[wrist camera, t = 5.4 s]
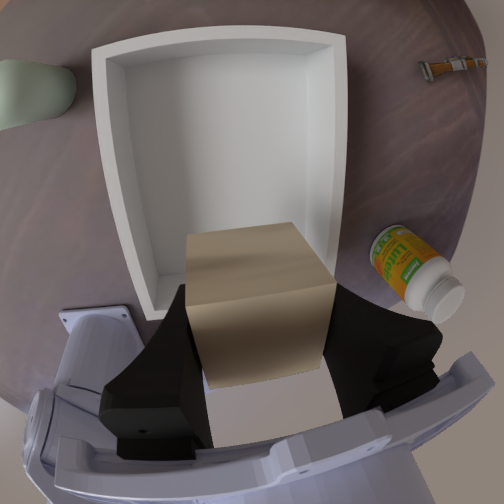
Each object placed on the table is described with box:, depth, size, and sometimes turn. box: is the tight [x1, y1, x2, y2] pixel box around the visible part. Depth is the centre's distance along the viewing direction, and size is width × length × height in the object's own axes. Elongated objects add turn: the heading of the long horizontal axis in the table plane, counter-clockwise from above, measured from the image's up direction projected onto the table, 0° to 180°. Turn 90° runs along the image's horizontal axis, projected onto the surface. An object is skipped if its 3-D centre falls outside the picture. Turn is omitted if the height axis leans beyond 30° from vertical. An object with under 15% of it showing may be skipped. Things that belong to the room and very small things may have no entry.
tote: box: [92, 25, 348, 321], centre depth 17 cm, size 18×14×5 cm
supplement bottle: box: [370, 225, 465, 324], centre depth 21 cm, size 5×5×10 cm
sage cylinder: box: [0, 59, 77, 130], centre depth 10 cm, size 4×4×7 cm
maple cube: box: [185, 222, 337, 389], centre depth 12 cm, size 5×5×5 cm
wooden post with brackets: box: [419, 56, 488, 81], centre depth 15 cm, size 2×8×4 cm, turn 119°
